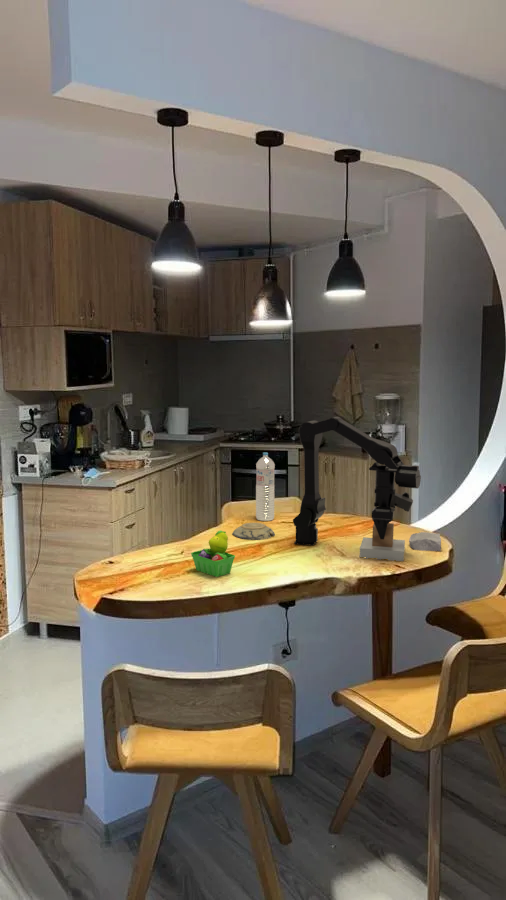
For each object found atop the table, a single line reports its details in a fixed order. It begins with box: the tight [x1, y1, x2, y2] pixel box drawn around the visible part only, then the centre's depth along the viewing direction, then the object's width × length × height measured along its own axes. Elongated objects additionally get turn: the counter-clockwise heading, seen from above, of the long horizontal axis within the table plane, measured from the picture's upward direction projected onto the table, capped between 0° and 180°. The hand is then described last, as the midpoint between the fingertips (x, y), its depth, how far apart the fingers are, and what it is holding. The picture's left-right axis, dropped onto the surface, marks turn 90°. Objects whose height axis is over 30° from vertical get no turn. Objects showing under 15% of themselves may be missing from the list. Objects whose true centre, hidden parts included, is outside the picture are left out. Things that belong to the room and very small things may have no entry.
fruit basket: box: [190, 529, 236, 578], centre depth 194 cm, size 11×9×11 cm
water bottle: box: [255, 452, 276, 522], centre depth 255 cm, size 7×7×25 cm
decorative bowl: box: [231, 522, 276, 541], centre depth 235 cm, size 15×4×15 cm
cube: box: [371, 522, 395, 547], centre depth 212 cm, size 6×6×6 cm
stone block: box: [408, 531, 442, 552], centre depth 222 cm, size 12×5×10 cm
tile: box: [359, 536, 406, 562], centre depth 213 cm, size 13×13×3 cm
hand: (383, 535), depth 212 cm, fingers open, 9 cm apart
